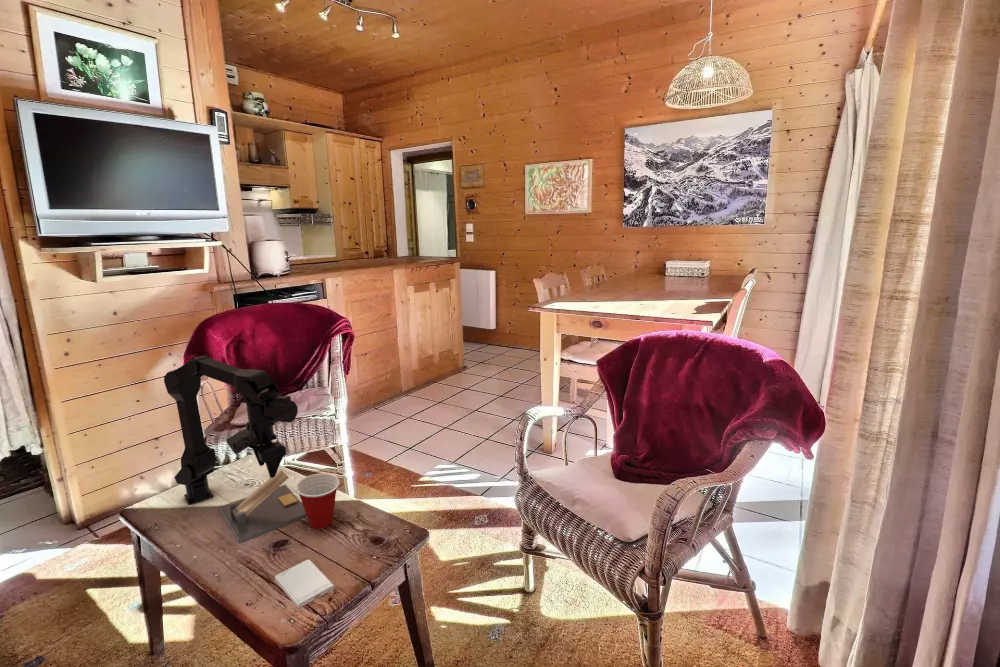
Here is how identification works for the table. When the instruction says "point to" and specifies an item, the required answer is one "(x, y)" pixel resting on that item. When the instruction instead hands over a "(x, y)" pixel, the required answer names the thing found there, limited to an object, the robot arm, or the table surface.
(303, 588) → the hard drive
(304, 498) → the plastic cup
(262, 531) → the mounting plate
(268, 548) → the table surface
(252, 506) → the lever
